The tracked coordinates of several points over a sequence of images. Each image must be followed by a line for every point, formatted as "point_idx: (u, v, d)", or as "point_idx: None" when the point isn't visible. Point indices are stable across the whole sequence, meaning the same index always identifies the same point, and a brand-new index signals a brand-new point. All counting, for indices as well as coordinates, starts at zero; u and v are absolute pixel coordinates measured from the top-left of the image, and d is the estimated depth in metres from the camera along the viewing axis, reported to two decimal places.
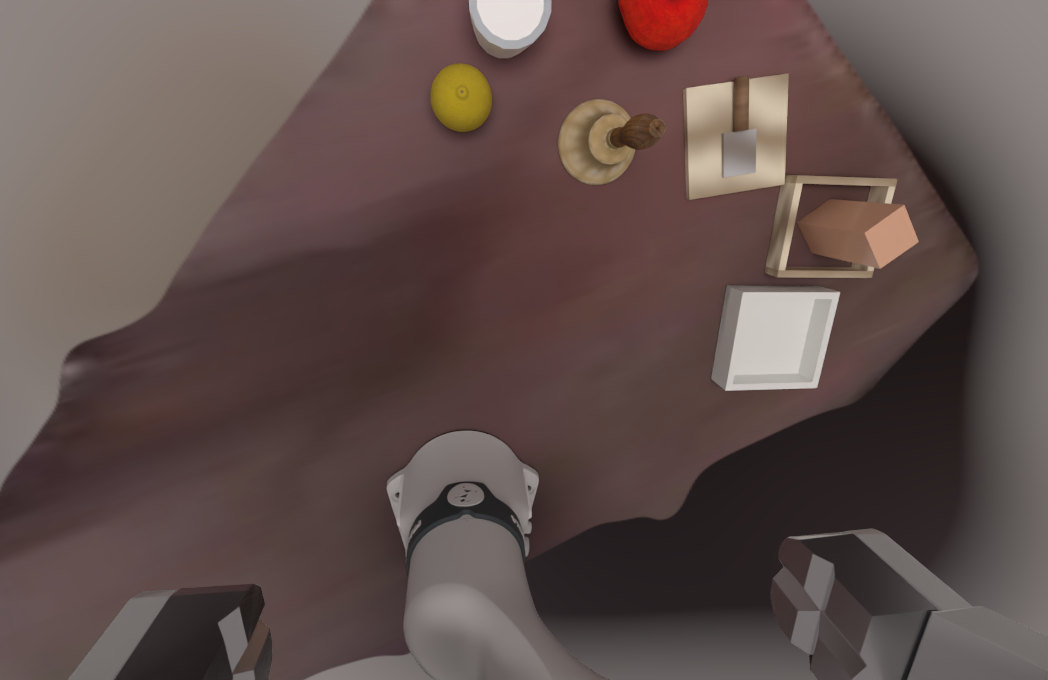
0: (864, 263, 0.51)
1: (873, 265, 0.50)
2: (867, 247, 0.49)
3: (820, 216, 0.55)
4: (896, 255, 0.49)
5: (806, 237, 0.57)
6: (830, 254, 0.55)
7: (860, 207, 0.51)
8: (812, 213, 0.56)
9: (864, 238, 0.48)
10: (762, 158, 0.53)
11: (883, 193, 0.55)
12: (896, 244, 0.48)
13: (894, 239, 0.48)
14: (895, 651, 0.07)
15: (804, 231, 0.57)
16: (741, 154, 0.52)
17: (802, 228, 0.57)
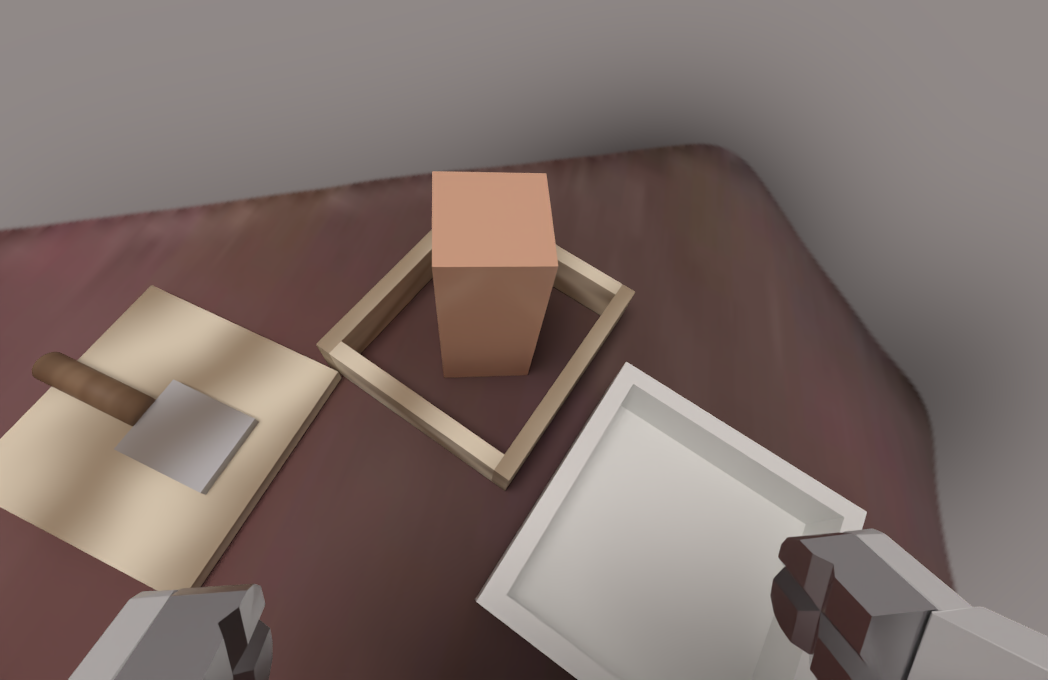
0: (543, 294, 0.19)
1: (548, 277, 0.18)
2: (484, 274, 0.17)
3: None
4: (547, 222, 0.18)
5: (483, 373, 0.26)
6: (525, 348, 0.23)
7: None
8: None
9: (454, 273, 0.17)
10: (249, 391, 0.23)
11: None
12: (519, 215, 0.18)
13: (502, 212, 0.18)
14: (895, 651, 0.07)
15: (466, 372, 0.25)
16: (192, 430, 0.22)
17: (457, 373, 0.25)
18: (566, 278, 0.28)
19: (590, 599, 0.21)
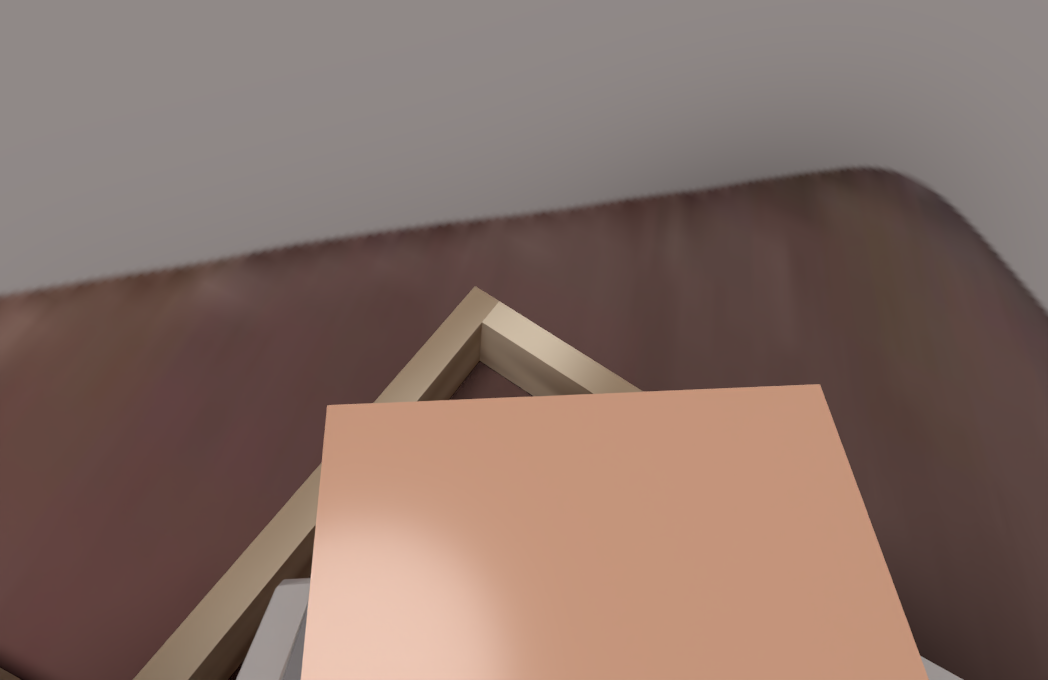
0: None
1: None
2: None
3: None
4: None
5: None
6: None
7: None
8: None
9: None
10: None
11: (503, 345, 0.13)
12: (765, 668, 0.04)
13: (681, 659, 0.03)
14: None
15: None
16: None
17: None
18: None
19: None
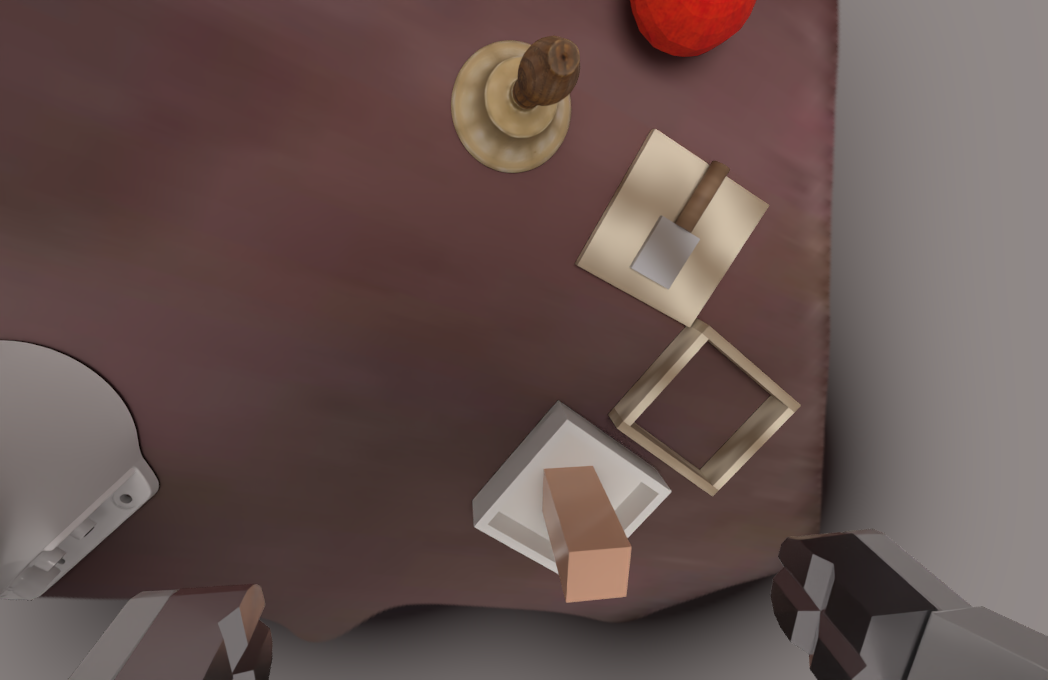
0: (560, 579, 0.36)
1: (564, 591, 0.35)
2: (566, 568, 0.34)
3: (565, 482, 0.41)
4: (593, 598, 0.35)
5: (543, 491, 0.43)
6: (549, 532, 0.41)
7: (600, 508, 0.38)
8: (564, 470, 0.43)
9: (567, 556, 0.34)
10: (685, 279, 0.39)
11: (778, 411, 0.43)
12: (598, 585, 0.35)
13: (600, 579, 0.34)
14: (895, 651, 0.07)
15: (544, 484, 0.42)
16: (666, 256, 0.38)
17: (544, 479, 0.42)
18: (728, 456, 0.44)
19: (553, 455, 0.42)
